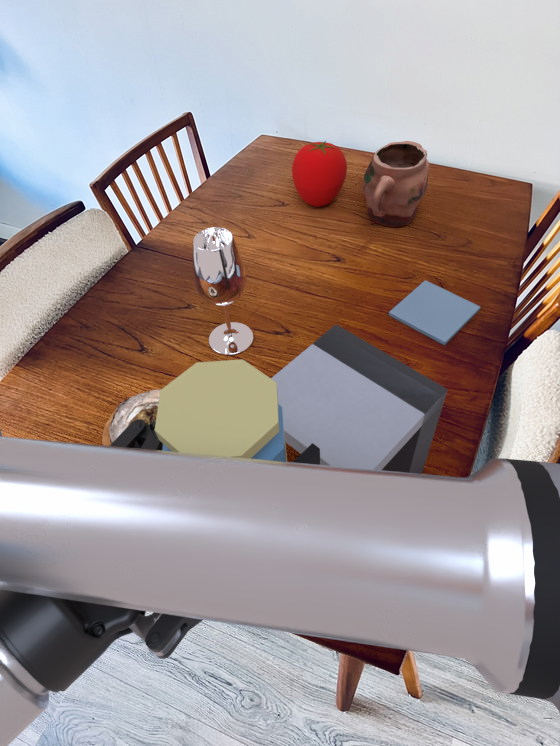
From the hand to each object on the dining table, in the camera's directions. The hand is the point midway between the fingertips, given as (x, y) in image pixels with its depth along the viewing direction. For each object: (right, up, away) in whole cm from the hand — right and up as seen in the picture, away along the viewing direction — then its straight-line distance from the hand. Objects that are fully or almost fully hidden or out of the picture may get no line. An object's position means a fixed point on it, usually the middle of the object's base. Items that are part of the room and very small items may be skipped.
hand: (273, 422), depth 42 cm
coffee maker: (+8, -12, +25) cm, 29 cm away
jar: (-3, -8, +4) cm, 9 cm away
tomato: (+9, +41, +71) cm, 83 cm away
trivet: (+27, +14, +47) cm, 56 cm away
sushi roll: (-18, -4, +34) cm, 39 cm away
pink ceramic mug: (+23, +36, +65) cm, 78 cm away
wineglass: (-8, +10, +45) cm, 47 cm away
